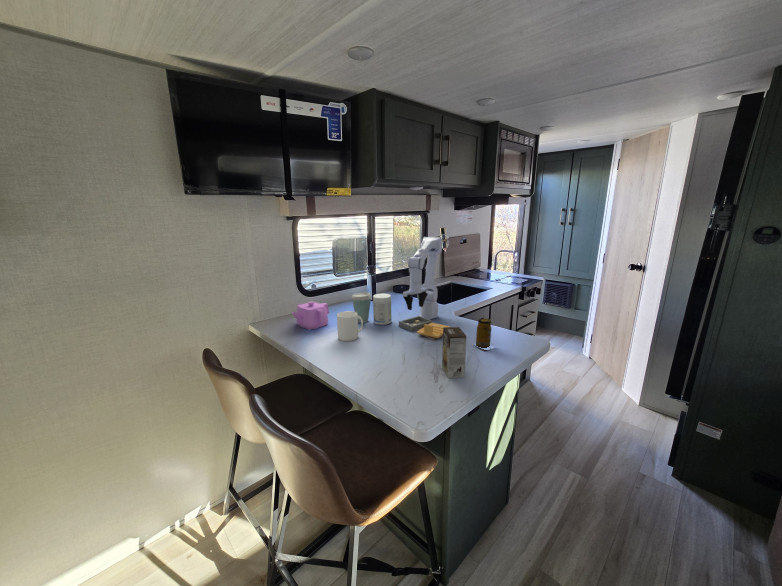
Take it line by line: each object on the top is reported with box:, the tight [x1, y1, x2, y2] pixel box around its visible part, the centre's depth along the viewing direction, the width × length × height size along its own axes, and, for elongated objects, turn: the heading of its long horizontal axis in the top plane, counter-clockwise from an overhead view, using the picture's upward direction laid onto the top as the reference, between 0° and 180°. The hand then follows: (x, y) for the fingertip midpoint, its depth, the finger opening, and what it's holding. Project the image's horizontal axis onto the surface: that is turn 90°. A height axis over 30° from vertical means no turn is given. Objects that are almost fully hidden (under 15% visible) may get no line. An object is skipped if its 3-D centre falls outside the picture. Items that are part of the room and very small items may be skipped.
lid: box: [416, 322, 451, 339], centre depth 159 cm, size 15×11×6 cm
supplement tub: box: [372, 293, 393, 326], centre depth 174 cm, size 10×10×15 cm
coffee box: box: [441, 326, 467, 379], centre depth 120 cm, size 9×6×16 cm
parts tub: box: [398, 315, 433, 333], centre depth 170 cm, size 14×10×3 cm
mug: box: [336, 310, 364, 342], centre depth 154 cm, size 10×12×12 cm
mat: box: [420, 334, 443, 340], centre depth 160 cm, size 14×9×1 cm, turn 128°
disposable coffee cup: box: [351, 292, 372, 324], centre depth 176 cm, size 11×11×15 cm
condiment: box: [471, 317, 492, 352], centre depth 143 cm, size 7×8×12 cm
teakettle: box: [291, 300, 330, 330], centre depth 172 cm, size 17×17×12 cm
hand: (415, 308), depth 165 cm, fingers open, 7 cm apart
